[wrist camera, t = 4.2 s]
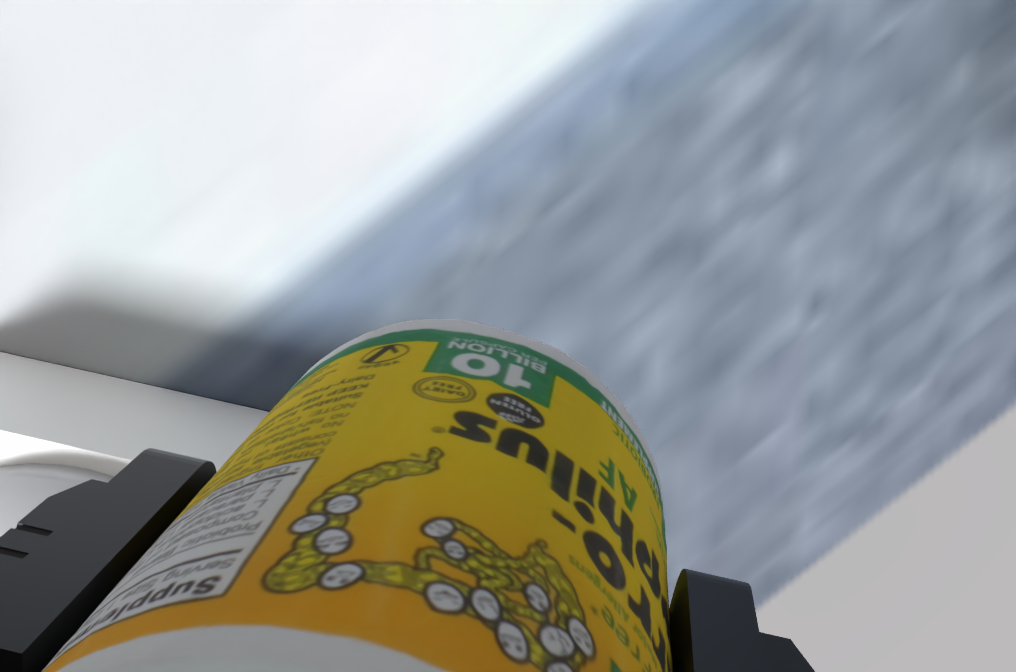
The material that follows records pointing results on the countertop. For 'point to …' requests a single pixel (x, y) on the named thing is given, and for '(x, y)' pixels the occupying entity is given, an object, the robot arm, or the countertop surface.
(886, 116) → the countertop surface
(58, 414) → the kitchen scale
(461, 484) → the supplement bottle
